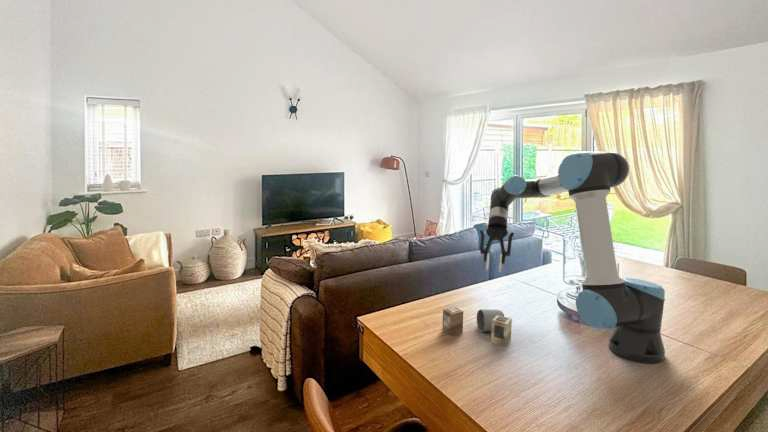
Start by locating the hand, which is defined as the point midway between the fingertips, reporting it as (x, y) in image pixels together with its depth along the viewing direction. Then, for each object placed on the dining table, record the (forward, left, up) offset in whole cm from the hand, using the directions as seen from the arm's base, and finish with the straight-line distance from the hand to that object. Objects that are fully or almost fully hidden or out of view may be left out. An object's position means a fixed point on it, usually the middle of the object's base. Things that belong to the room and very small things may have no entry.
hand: (493, 269), depth 152 cm
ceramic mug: (-5, +12, -19) cm, 23 cm away
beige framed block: (-14, +18, -18) cm, 29 cm away
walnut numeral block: (+2, +23, -18) cm, 30 cm away
